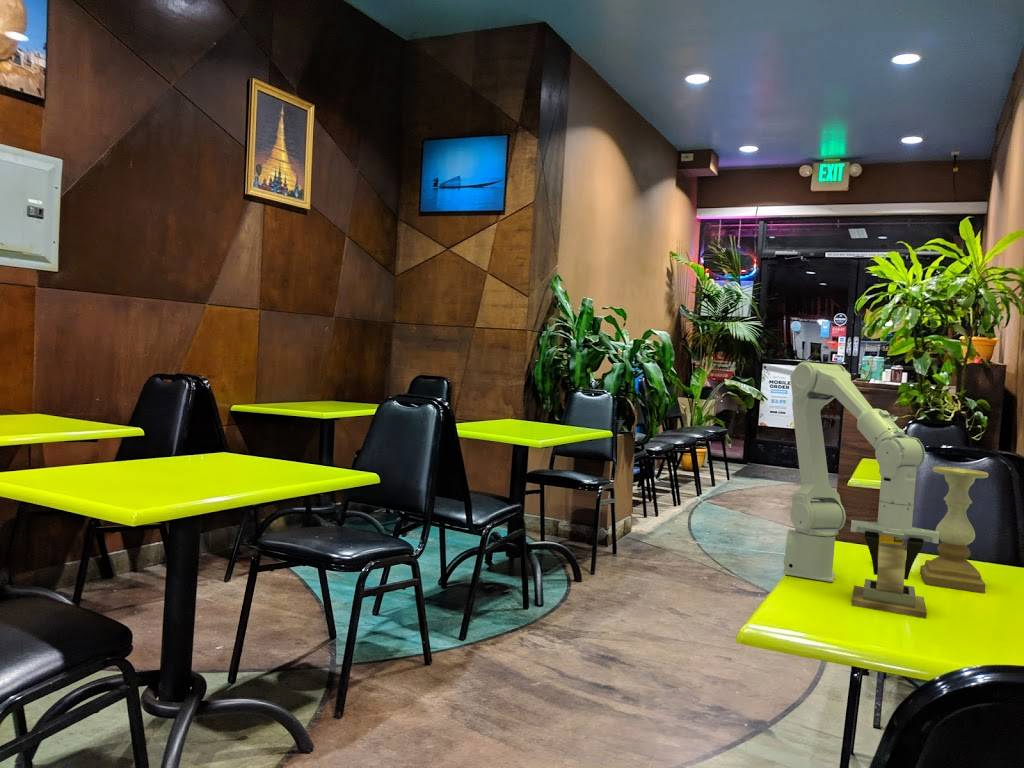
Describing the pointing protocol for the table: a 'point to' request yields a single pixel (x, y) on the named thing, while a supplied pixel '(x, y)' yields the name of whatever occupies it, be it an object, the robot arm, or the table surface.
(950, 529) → the candle holder
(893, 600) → the gray square frame
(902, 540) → the supplement bottle
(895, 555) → the tan rectangular block
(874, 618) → the table surface
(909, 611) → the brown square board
